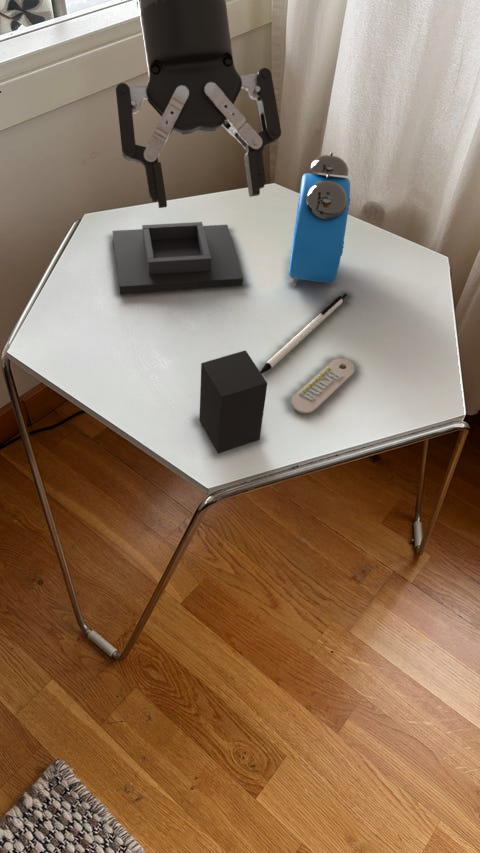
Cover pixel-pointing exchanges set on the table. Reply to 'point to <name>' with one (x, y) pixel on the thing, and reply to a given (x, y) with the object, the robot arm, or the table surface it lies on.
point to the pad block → (232, 401)
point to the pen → (303, 333)
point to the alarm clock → (320, 221)
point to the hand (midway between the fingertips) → (209, 201)
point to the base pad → (175, 258)
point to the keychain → (322, 386)
